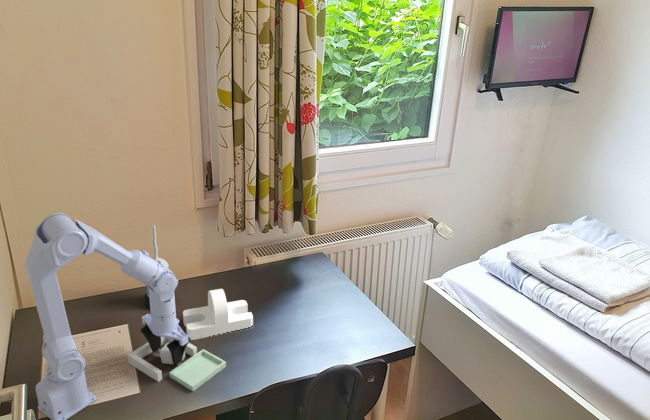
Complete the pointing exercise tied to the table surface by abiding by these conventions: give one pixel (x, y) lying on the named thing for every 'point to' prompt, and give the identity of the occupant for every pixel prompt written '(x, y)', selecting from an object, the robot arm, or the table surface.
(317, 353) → the table surface
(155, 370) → the bay
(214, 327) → the u-slot stand
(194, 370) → the tray
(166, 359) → the usb wall charger
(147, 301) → the humidifier
